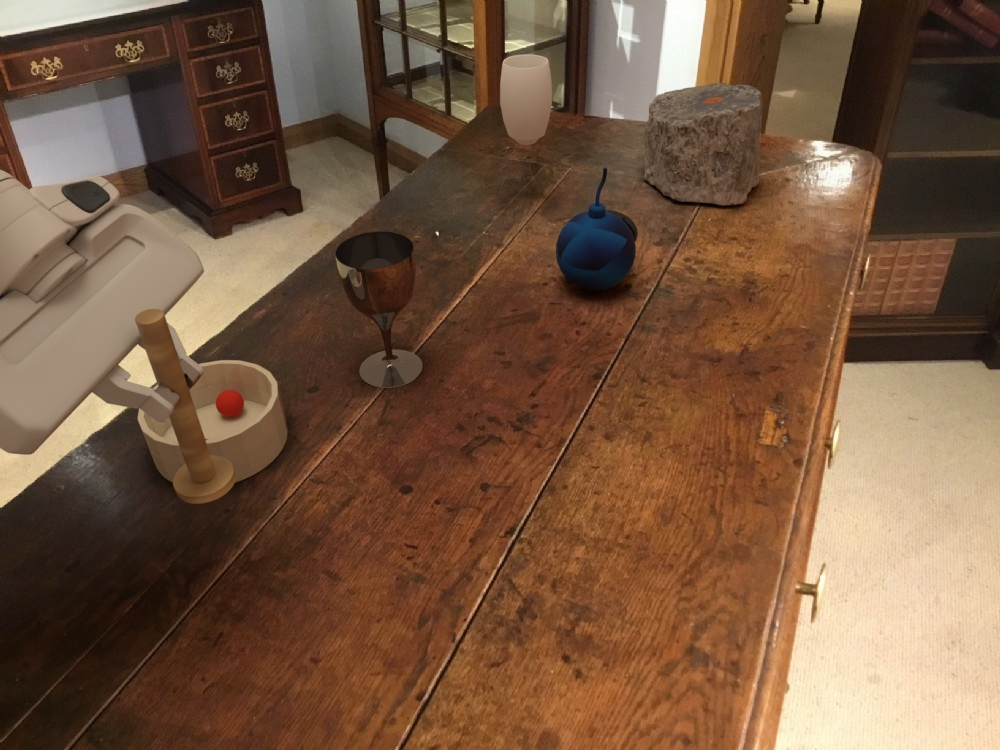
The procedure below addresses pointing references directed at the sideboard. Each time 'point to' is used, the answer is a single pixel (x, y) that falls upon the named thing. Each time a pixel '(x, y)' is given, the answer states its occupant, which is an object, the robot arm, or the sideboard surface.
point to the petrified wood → (705, 143)
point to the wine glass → (381, 298)
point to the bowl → (226, 421)
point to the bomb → (597, 246)
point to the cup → (526, 97)
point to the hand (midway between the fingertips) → (184, 396)
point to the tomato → (229, 403)
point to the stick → (184, 417)
